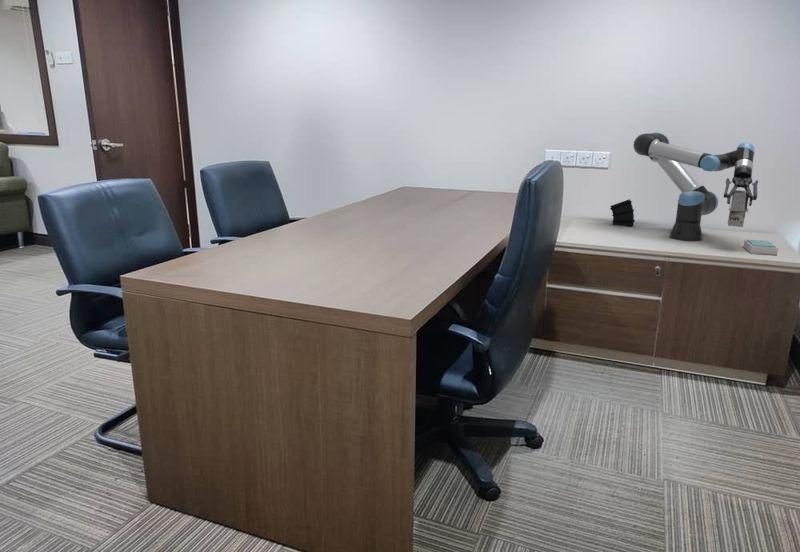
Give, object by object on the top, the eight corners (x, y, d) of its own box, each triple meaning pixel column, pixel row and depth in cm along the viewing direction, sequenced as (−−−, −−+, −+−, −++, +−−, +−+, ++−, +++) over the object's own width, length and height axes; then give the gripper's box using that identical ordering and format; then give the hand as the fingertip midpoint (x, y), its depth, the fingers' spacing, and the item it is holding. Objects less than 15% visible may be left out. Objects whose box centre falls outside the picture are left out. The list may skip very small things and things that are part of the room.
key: (753, 249, 276) (753, 244, 275) (746, 243, 287) (747, 239, 286) (774, 250, 273) (775, 246, 273) (767, 244, 284) (768, 240, 284)
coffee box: (743, 227, 278) (749, 193, 274) (727, 225, 281) (734, 192, 276) (742, 224, 286) (748, 190, 282) (727, 222, 289) (733, 189, 284)
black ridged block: (638, 224, 331) (629, 199, 331) (615, 232, 339) (606, 207, 339) (639, 223, 334) (630, 198, 334) (617, 231, 342) (608, 206, 342)
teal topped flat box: (750, 253, 276) (752, 246, 275) (743, 247, 288) (744, 240, 287) (776, 255, 273) (778, 248, 272) (768, 248, 286) (769, 241, 285)
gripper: (764, 177, 286) (760, 216, 277) (719, 174, 294) (714, 212, 285) (767, 167, 280) (764, 207, 271) (721, 164, 288) (716, 203, 279)
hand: (738, 209), depth 278 cm, fingers closed on coffee box, 6 cm apart
